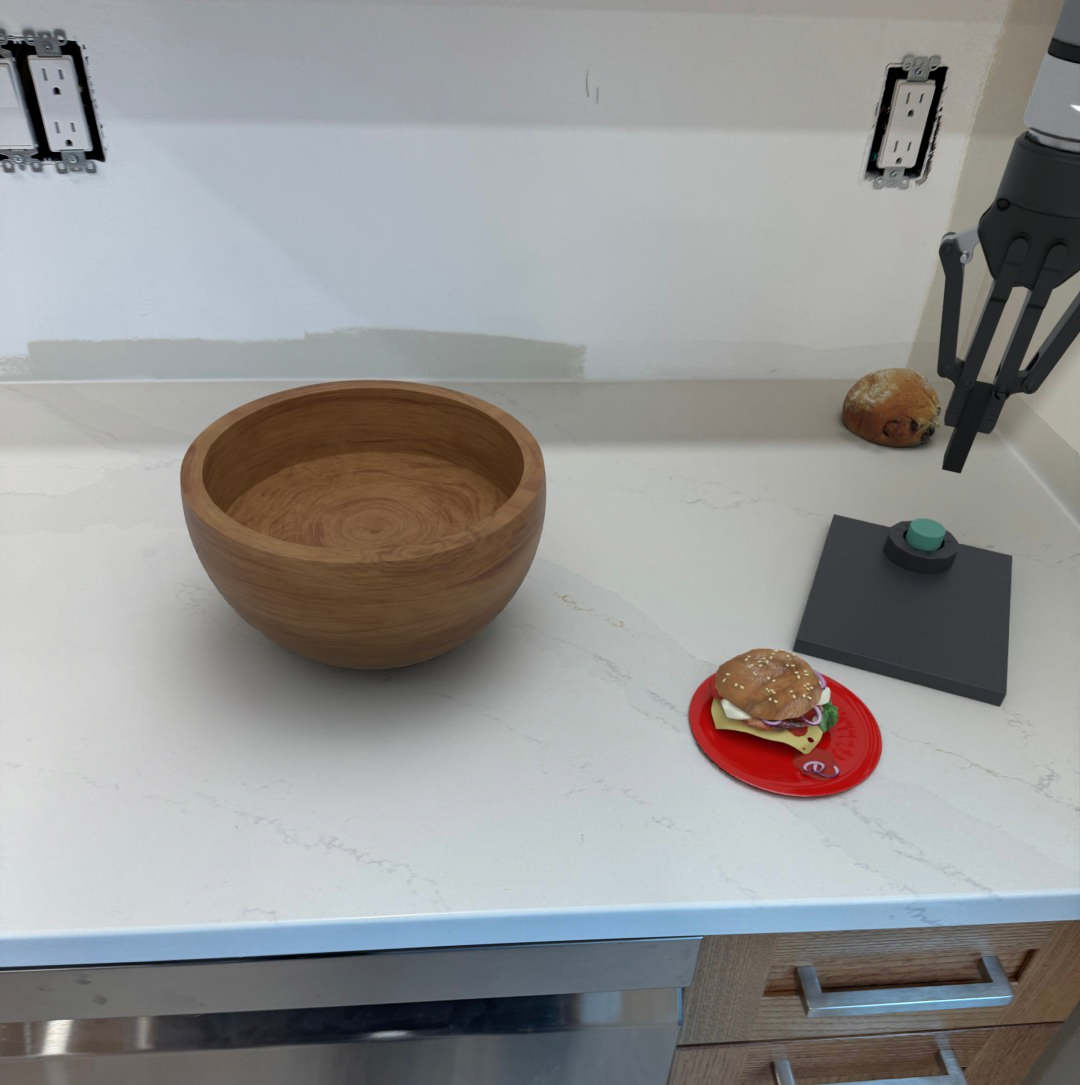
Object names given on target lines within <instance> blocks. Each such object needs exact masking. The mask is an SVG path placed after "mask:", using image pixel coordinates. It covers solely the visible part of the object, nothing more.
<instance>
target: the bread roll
mask: <svg viewBox="0 0 1080 1085" xmlns="http://www.w3.org/2000/svg"><path fill="white" fill-rule="evenodd" d="M841 410H842V411H841V414H842V419H843V422H844V425H845V426H846V427H847V429H848V430H849V431H850V432H852V433H854V434H856V435H857V436H859V437H860V438H862V439H863V440H866V441H868V442H871V443H874V444H878V445H881V446H885V447H889V448H909V447H915V446H917V447H918V446H920V445H921V444H925V443H928V442H930V437H932V436H934V434H935V432H936V428H937V429H940V428H941V421H940V418H939V417H940V415H941V414H942V413H941V411H942V407H941V404H940V401H939V397H938V394H937V392H936V389H935V388H934V386H933V385H932V383H931V382H930V381H929V379H928V378H927V377H926V376H925V375H924V374H921V373H919V372H918V371H916V370H914V369H910V368H908V367H907V368H906V367H890V368H883V369H879V370H877V371H874V372H869V373H868V374H866V375H863V377H861V378H860V379H859V380H857V381H856V382H855V383H854V384H853V385H852V387H850V389H849V390H848V392H847V394H846V395H845V398H844V400H843V403H842V409H841Z"/></svg>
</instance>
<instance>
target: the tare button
mask: <svg viewBox="0 0 1080 1085" xmlns="http://www.w3.org/2000/svg"><path fill="white" fill-rule="evenodd" d="M911 521H912V522H911V524H910V527H909V529H908V532H907V535H906V538H905V539H906V542H907V543H908V544H909V545H911V546H913V547H915V548H918V549H922V550H926V551H935V550H938V549H939V548H940V546H941V543H942V541H943V538H944V536H945V533H946V530H947V529H946V528H945V526H944V525H943V524H941V523H940V522H938V521H936V520H934V519H930V518H923V517H922V518H921V517H920V518H915V519H913V520H911Z"/></svg>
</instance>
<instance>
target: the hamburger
mask: <svg viewBox="0 0 1080 1085" xmlns="http://www.w3.org/2000/svg"><path fill="white" fill-rule="evenodd" d="M688 717H689V724H690V729H691V730H692V733H693V736H694V738H695V740H696V742H697V744H698V745H699V746H700V748H701V749H702V750H703V752H704V753H705V754H706V755H707V756H708V757H709V759H711V761H713V762H714V763H715V764H716V765H717V766H718V767H720V769H722V770H724V771H725V772H726V773H728V774H730V775H731V776H733V777H735V778H736V779H738V780H740V781H741V782H744V783H746V784H748V785H751V786H753V787H756V788H758V789H761V790H764V791H766V792H771V793H775V794H779V795H785V796H793V797H806V798H807V797H808V798H809V797H822V796H829V795H834V794H838V793H841V792H844V791H847V790H849V789H851V788H854V787H856V786H857V785H859V784H860V783H862V782H863V781H865V780H866V779H867V778H868V777H869V776H870V775H871V774H872V773H873V772H874V770H875V769H876V768H877V766H878V764H879V762H880V760H881V756H882V753H883V752H882V751H883V738H882V732H881V729H880V726H879V724H878V722H877V720H876V718H875V716H874V714H873V712H872V711H871V710H870V709H869V707H868V705H866V703H864V702H863V700H862V699H861V698H860V697H859V696H857V695H856V694H855V693H854V692H853V691H851V689H849V688H848V687H847V686H845V685H843V684H842V683H840V682H838V681H837V680H835V679H833V678H831V677H830V676H827V675H825V674H823V673H820V672H818V671H817V670H815V669H813V668H812V667H811V665H810V664H809V663H808V662H807V661H806V660H804V659H803V658H801V657H799V656H798V653H792V652H791V653H790V652H788V651H787V650H786V651H785V650H784V649H783V648H780V649H772V648H765V647H764V646H762V647H756V648H753V649H750V650H748V651H746V652H744V653H741V654H738V655H736V656H734V657H732V658H730V659H729V660H726V661H725V662H723V663H722V664H720V665H719V666H718V668H717V670H716V672H715V673H713V674H711V675H709V676H708V677H707V678H705V680H703V681H702V683H700V685H698V687H697V688H696V689H695V691H694V693H693V695H692V697H691V700H690V704H689V711H688Z"/></svg>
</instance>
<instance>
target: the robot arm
mask: <svg viewBox="0 0 1080 1085" xmlns="http://www.w3.org/2000/svg"><path fill="white" fill-rule="evenodd" d="M1022 122H1023V124H1024V126H1025V127H1026V128H1027V129H1028V130H1026V131H1023V132H1022V133H1020V135H1018V136H1017V137H1016V138H1015V140H1014V143H1013V145H1012V148H1011V151H1010V153H1009V157H1008V160H1007V161H1006V162H1007V163H1006V166H1005V167H1004V170H1003V174H1002V177H1001V180H1000V183H999V185H998V189H997V190H996V194H995V196H994V199H993V201H992V203H991V204H990V205H989V207H988V208H987V209H986V210H985V211H984V212H983V213H982V215H981V216H980V217H979V220H978V222H977V223H978V224H975V225H974V226H971V227H969V228H966V229H964V230H962V231H959V232H955V231H948V232H946V233H944V235H943V236H942V237H941V239H940V244H939V247H938V256H939V259H940V260H939V261H940V263H941V267H942V270H943V273H944V288H943V289H944V290H943V297H942V298H943V299H942V310H941V311H942V312H941V321H940V333H939V344H938V354H937V355H938V356H937V365H936V374H937V375H938V377H940V378H943V379H948V380H949V381H951V382H952V383H953V385H954V387H953V389H952V392H951V394H950V398H949V400H948V402H947V406H946V408H945V411H944V418H943V424H944V426H945V427H946V426H947V427H951V428H953V430H952V433H951V435H950V437H949V441H948V443H947V446H946V448H945V451H944V454H943V459H942V466H941V470H942V471H947V472H951V473H956V474H959V475H960V474H962V471H963V469H964V466H965V464H966V462H967V459H968V457H969V454H970V452H971V450H972V447H973V444H974V442H975V439H976V436H977V434H978V433H980V434H984V435H985V434H986V435H990V434H991V433H992V432H993V431H994V429H995V427H996V425H997V422H998V420H999V417H1000V415H1001V414H1002V413H1001V412H1002V411H1003V408H1004V405H1005V403H1006V401H1007V400H1008V399H1010V397H1011V396H1012V395H1015V394H1022V393H1023V394H1025V395H1032V394H1035V393H1036V392H1037V391H1038V390H1039V389H1040V387H1041V386H1042V385H1043V384H1044V382H1045V380H1046V379H1047V378H1048V376H1050V374H1051V372H1052V371H1053V370H1054V368H1055V367H1056V366H1057V364H1058V363H1059V361H1060V360H1061V359H1062V357H1063V356H1064V355H1065V353H1066V352H1067V351H1068V349H1069V348H1070V346H1071V345H1072V344H1073V342H1074V341H1075V340H1076V338H1077V337H1078V336H1079V334H1080V290H1079V292H1078V293H1077V294H1076V296H1075V297H1074V298H1073V300H1071V302H1070V304H1069V305H1068V307H1067V308H1066V310H1065V311H1064V312H1063V314H1062V315H1061V316H1060V318H1059V320H1058V321H1057V322H1056V324H1055V325H1054V326H1053V328H1052V329H1051V330H1050V332H1049V333H1048V335H1047V337H1046V338H1045V339H1044V341H1043V342H1042V343H1041V345H1040V347H1039V348H1038V349H1037V351H1035V354H1033V356H1032V357H1031V359H1030V360H1029V362H1028V363H1027V364H1026V365H1025V367H1024V369H1020V368H1021V366H1022V364H1023V362H1024V359H1025V358H1026V357H1025V356H1026V354H1027V352H1028V350H1029V347H1030V344H1031V341H1032V339H1033V337H1034V334H1035V332H1036V329H1037V327H1038V324H1039V322H1040V319H1041V317H1042V315H1043V313H1044V310H1045V309H1046V307H1047V305H1048V303H1049V300H1050V298H1051V295H1052V292H1053V290H1055V289H1057V288H1059V287H1060V286H1063V284H1065V283H1066V282H1067V281H1069V280H1070V279H1071V278H1072V277H1074V276H1075V275H1076V274H1078V273H1079V272H1080V0H1064V2H1063V4H1062V7H1061V10H1060V13H1059V16H1058V19H1057V22H1056V25H1055V28H1054V31H1053V34H1052V37H1051V39H1050V42H1049V45H1048V48H1047V50H1046V51H1045V52H1044V56H1043V59H1042V62H1041V64H1040V66H1039V70H1038V73H1037V77H1036V79H1035V82H1034V84H1033V88H1032V91H1031V94H1030V96H1029V99H1028V101H1027V104H1026V107H1025V111H1024V113H1023V116H1022ZM978 244H980V246H981V250H982V252H983V257H984V260H985V262H986V265H987V268H988V272H989V274H990V276H991V278H992V281H991V284H990V288H989V291H988V293H987V296H986V299H985V300H984V301H985V302H984V304H983V307H982V310H981V313H980V315H979V318H978V319H977V323H976V326H975V328H974V331H973V334H972V336H971V340H970V342H969V345H968V348H967V350H966V353H965V355H964V358H963V359H961V358H959V357H958V356H957V350H958V341H959V333H960V331H959V330H960V322H961V311H962V302H963V293H964V282H965V272H966V265H968V264H969V263H970V262H971V261H972V260H973V258H974V251H975V248H976V246H977V245H978ZM1021 287H1022V288H1025V289H1026V290H1027V291H1026V295H1025V298H1024V300H1023V303H1022V305H1021V308H1020V310H1019V313H1018V316H1017V317H1016V320H1015V323H1014V326H1013V329H1012V331H1011V333H1010V336H1009V339H1008V341H1007V344H1006V347H1005V349H1004V352H1003V354H1002V357H1001V360H1000V361H999V364H998V367H997V369H996V373H995V374H994V379H993V381H992V383H990V382H985V381H980V380H977V379H978V377H979V374H980V371H981V370H982V367H983V364H984V362H985V359H986V356H987V354H988V351H989V349H990V346H991V344H992V341H993V338H994V336H995V333H996V330H997V328H998V325H999V323H1000V320H1001V318H1002V315H1003V312H1004V309H1005V307H1006V304H1007V302H1008V301H1009V299H1010V296H1011V293H1012V291H1013V288H1021Z"/></svg>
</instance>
